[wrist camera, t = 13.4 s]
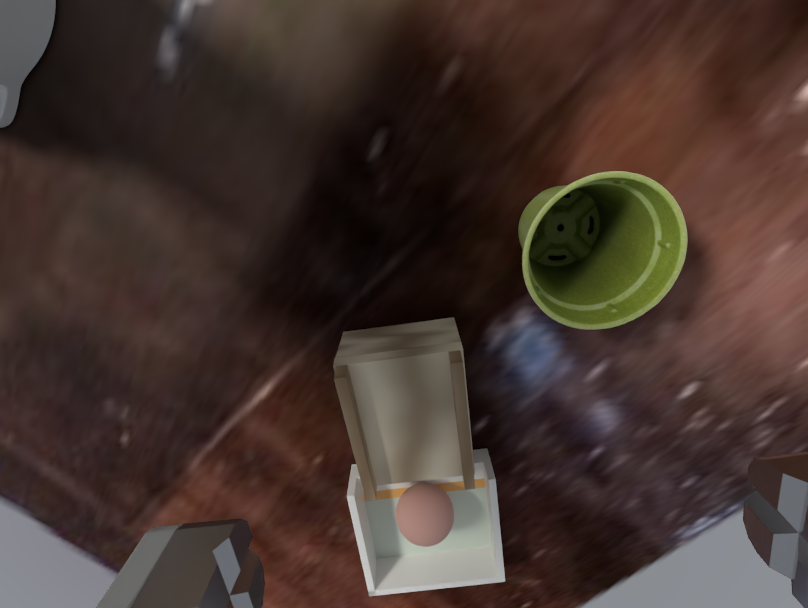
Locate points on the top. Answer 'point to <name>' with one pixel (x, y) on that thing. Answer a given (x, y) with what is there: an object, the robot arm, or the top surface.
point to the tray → (439, 564)
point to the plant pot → (602, 249)
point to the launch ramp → (405, 403)
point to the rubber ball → (425, 514)
